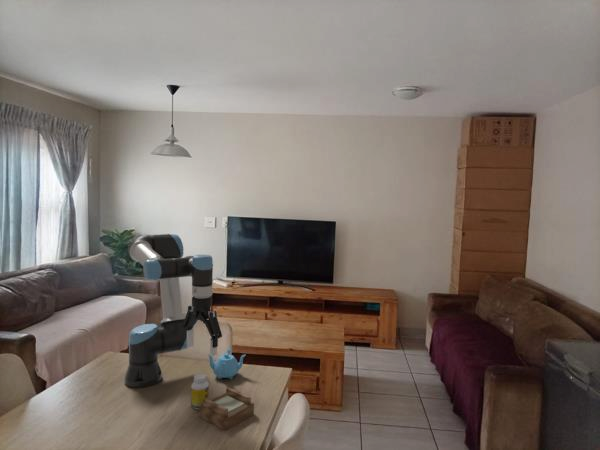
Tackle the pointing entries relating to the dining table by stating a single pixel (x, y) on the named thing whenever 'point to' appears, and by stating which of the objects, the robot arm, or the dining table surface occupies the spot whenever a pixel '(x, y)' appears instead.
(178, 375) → the dining table surface
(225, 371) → the teapot
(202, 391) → the pill bottle
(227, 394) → the wooden tray
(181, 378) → the dining table surface
